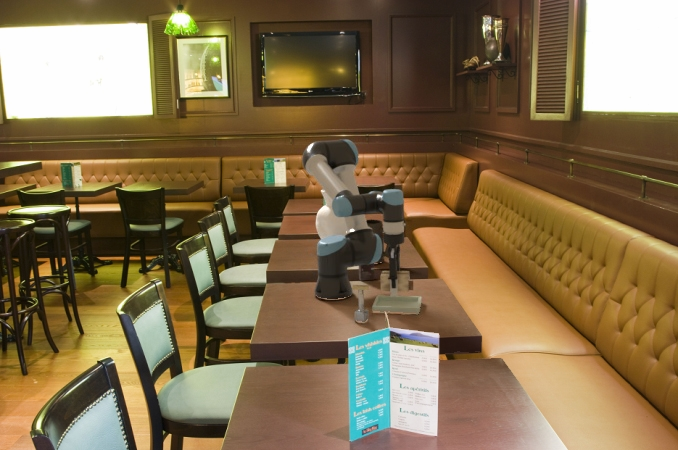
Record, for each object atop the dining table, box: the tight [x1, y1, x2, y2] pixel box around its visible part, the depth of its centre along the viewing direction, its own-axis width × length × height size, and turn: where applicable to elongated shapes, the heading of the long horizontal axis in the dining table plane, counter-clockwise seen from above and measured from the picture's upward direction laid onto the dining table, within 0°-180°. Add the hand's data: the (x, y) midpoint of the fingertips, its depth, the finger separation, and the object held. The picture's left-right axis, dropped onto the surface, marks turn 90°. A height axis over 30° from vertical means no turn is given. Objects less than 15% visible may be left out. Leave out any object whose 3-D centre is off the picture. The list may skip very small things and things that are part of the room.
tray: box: [371, 294, 423, 315], centre depth 238 cm, size 17×13×3 cm
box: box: [358, 263, 375, 282], centre depth 273 cm, size 6×4×12 cm
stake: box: [351, 284, 370, 322], centre depth 224 cm, size 6×4×13 cm
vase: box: [315, 188, 347, 240], centre depth 332 cm, size 19×21×30 cm
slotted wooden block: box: [380, 270, 414, 293], centre depth 235 cm, size 12×6×6 cm, turn 79°
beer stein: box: [366, 219, 390, 263], centre depth 298 cm, size 15×11×20 cm
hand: (395, 292), depth 237 cm, fingers closed on slotted wooden block, 6 cm apart
